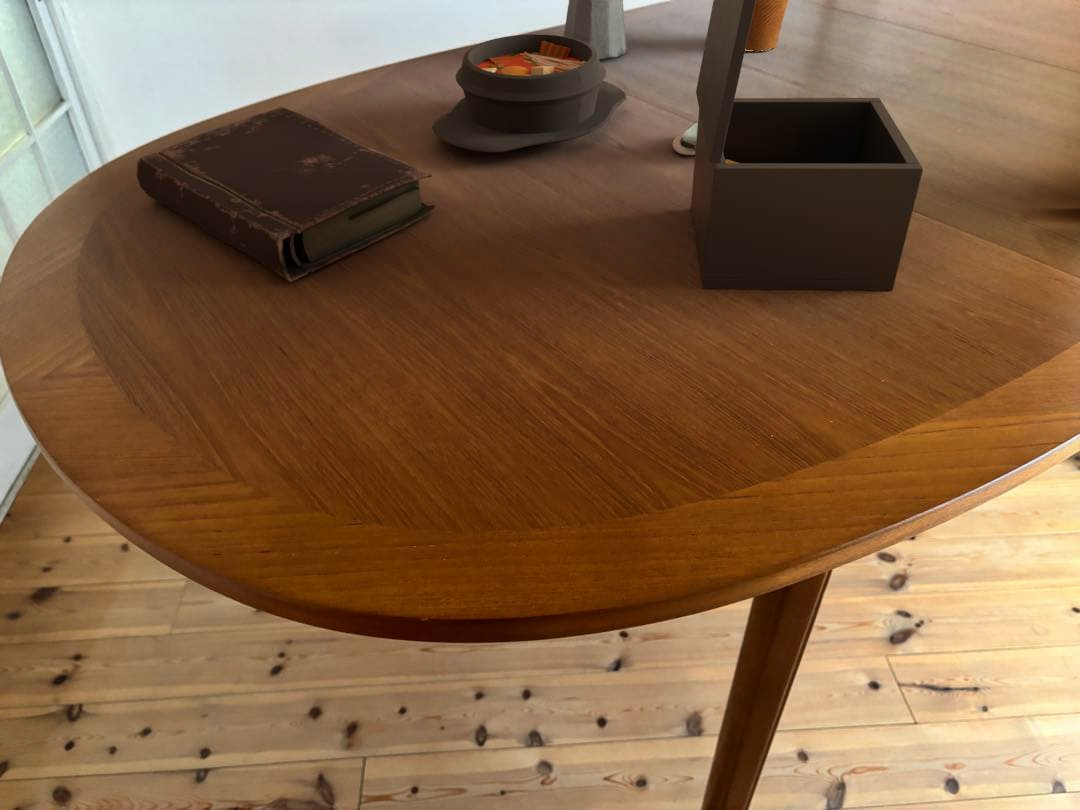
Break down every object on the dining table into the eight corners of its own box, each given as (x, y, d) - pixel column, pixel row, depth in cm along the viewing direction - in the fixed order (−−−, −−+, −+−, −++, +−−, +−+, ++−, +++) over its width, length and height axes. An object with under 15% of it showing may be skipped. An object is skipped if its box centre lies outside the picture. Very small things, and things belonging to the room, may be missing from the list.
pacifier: (664, 158, 100) (718, 164, 98) (666, 101, 96) (722, 106, 94) (682, 133, 105) (734, 138, 103) (685, 78, 101) (739, 82, 99)
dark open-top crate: (856, 209, 89) (879, 97, 82) (892, 290, 78) (923, 168, 71) (690, 208, 90) (699, 98, 83) (702, 288, 79) (714, 168, 72)
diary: (283, 288, 80) (271, 237, 77) (145, 204, 94) (129, 157, 91) (442, 213, 91) (437, 165, 87) (296, 147, 104) (287, 103, 101)
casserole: (550, 80, 119) (549, 12, 114) (662, 116, 109) (666, 43, 103) (398, 137, 106) (389, 64, 100) (510, 185, 95) (506, 106, 90)
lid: (746, -118, 72) (736, -119, 72) (773, -76, 61) (760, -78, 61) (705, 93, 83) (695, 92, 83) (720, 163, 71) (709, 162, 71)
